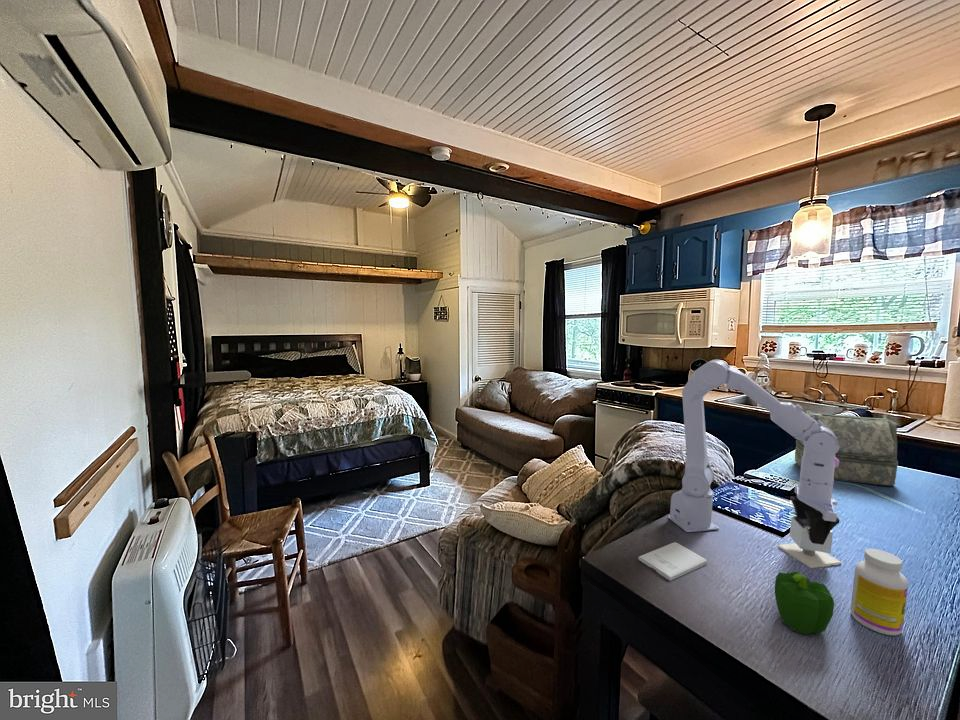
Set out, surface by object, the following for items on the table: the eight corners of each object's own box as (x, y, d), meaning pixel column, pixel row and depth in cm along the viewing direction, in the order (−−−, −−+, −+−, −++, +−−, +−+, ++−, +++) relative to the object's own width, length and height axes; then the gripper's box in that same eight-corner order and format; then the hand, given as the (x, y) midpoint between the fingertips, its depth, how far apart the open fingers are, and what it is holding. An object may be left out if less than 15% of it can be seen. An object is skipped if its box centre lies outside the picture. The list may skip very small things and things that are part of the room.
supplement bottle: (908, 643, 66) (918, 572, 65) (855, 627, 70) (863, 559, 68) (894, 618, 72) (902, 552, 70) (845, 604, 75) (852, 541, 74)
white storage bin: (800, 548, 89) (802, 527, 88) (789, 535, 94) (791, 515, 93) (830, 553, 87) (832, 532, 86) (817, 539, 92) (820, 519, 92)
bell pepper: (801, 606, 75) (806, 557, 73) (843, 642, 66) (849, 587, 65) (759, 607, 74) (763, 558, 73) (795, 643, 66) (800, 588, 65)
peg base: (811, 568, 86) (813, 548, 86) (777, 547, 94) (779, 529, 93) (841, 564, 87) (843, 545, 87) (806, 544, 95) (807, 526, 95)
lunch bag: (802, 477, 136) (808, 416, 133) (786, 460, 152) (792, 405, 150) (904, 491, 125) (912, 425, 123) (875, 471, 142) (882, 412, 139)
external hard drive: (706, 566, 87) (669, 583, 82) (674, 547, 95) (638, 561, 89) (707, 559, 87) (670, 576, 82) (674, 541, 94) (638, 555, 89)
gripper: (857, 495, 81) (850, 557, 82) (821, 469, 94) (816, 523, 96) (815, 490, 83) (809, 550, 84) (786, 466, 96) (781, 518, 98)
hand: (810, 535), depth 90 cm, fingers closed on white storage bin, 6 cm apart
